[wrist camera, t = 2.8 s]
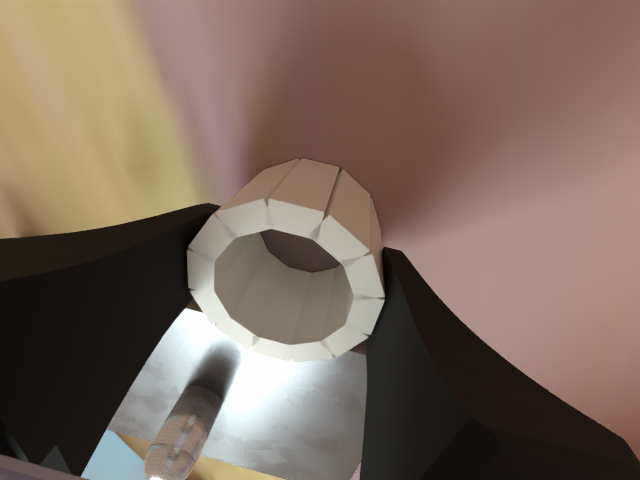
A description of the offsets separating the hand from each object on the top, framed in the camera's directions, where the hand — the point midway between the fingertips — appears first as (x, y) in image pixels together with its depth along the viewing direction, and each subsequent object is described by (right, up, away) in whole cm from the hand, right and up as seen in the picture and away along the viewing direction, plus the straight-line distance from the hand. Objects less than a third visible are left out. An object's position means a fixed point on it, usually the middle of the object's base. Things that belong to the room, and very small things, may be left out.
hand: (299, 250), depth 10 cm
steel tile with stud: (-6, -8, +8) cm, 13 cm away
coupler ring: (0, +1, +1) cm, 2 cm away
